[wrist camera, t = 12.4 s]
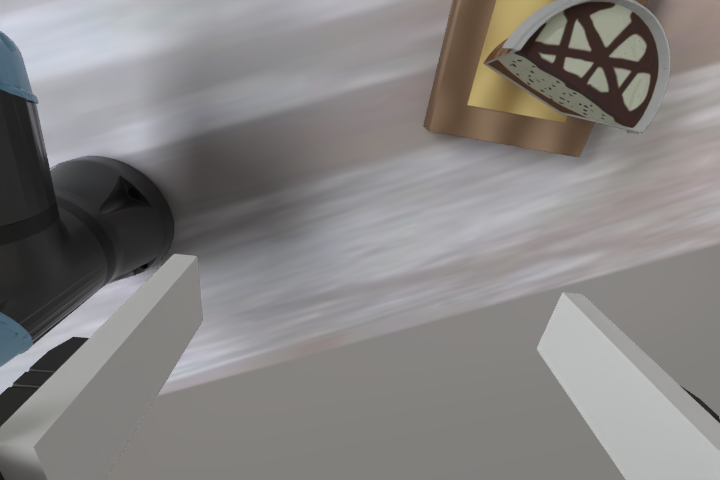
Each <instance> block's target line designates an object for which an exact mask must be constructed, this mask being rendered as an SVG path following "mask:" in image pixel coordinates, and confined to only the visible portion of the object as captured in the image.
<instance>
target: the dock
mask: <svg viewBox="0 0 720 480" xmlns="http://www.w3.org/2000/svg"><path fill="white" fill-rule="evenodd" d="M554 1H556V0H453V2H452V7H451V11H450V15H449V19H448V24H447V28H446V32H445V37H444V41H443V45H442V49H441V54H440V58H439V62H438V66H437V71H436V75H435V79H434V84H433V88H432V92H431V96H430V101H429V105H428V109H427V114H426V118H425V122H424V127H425V128H426V129H428V130H429V131H432V132H438V133H443V134H449V135H455V136H460V137H466V138H472V139H478V140H483V141H489V142H495V143H500V144H506V145H512V146H517V147H523V148H529V149H534V150H540V151H546V152H552V153H557V154H563V155H569V156H574V157H580V155H581V152H582V150H583V148H584V145H585V143H586V141H587V138H588V136H589V134H590V132H591V129H592V127H593V125H594V122H592V121H588V120H584V119H579V118H575V117H571V116H567V115H563V114H559V113H558V112H556V111H555V110H553V109H552V108H550V107H549V106H547V105H546V104H544V103H543V102H541V101H540V100H538V99H537V98H535V97H533V96H532V95H530V94H529V93H527V92H526V91H524V90H523V89H521V88H520V87H518V86H517V85H515V84H514V83H512V82H511V81H509V80H508V79H506V78H504V77H503V76H501V75H500V74H498V73H497V72H495V71H494V70H492V69H491V68H489V67H488V66H486V65H485V64H483V63H484V61H485V60H486V59H487V57H488V56H489V54H490V53H491V52H492V51H493V50H494V49H495V48H496V47H497V46H498V45H499V44H501V43H502V42H503V41H504V40H506V39H508V38H509V37H510V35H511V34H512V33H513V32H514V31H515V30H516V29H517V28H518V27H519V26H520V25H521V23H523V22H524V21H525V20H526V19H527V18H529V17H530V16H531V15H532V14H533V13H535V12H536V11H538V10H539V9H541V8H543V7H544V6H546V5H547V4H549V3H551V2H554ZM635 1H636V2H638V3H639V4H641V5H643V6H644V7H645V6H646V3H647V1H648V0H635Z"/></svg>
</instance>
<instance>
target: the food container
mask: <svg viewBox="0 0 720 480" xmlns="http://www.w3.org/2000/svg"><path fill="white" fill-rule="evenodd" d="M483 64H485V65H486V66H488V67H489V68H491V69H492V70H494V71H495V72H497V73H498V74H500V75H501V76H503V77H504V78H506V79H508V80H509V81H511V82H512V83H514V84H515V85H517V86H518V87H520V88H521V89H523V90H524V91H526V92H527V93H529V94H530V95H532V96H533V97H535V98H537V99H538V100H540V101H541V102H543V103H544V104H546V105H547V106H549V107H550V108H552V109H553V110H555V111H556V112H558V113H559V114H563V115H567V116H571V117H575V118H579V119H584V120H588V121H592V122H596V123H600V124H605V125H609V126H613V127H617V128H621V129H626V130H627V131H626V132H627V133H637V134H638V133H643V131H644V130H645V129H646V127H647V126H648V125H649V123H650V122H651V120H652V119H653V117H654V115H655V114H656V112H657V110H658V108H659V106H660V104H661V102H662V99H663V97H664V94H665V91H666V88H667V84H668V80H669V73H670V49H669V44H668V39H667V37H666V34H665V32H664V29H663V27H662V26H661V24H660V22H659V21H658V19H657V18H656V17H655V16H654V15H653V14H652V13H651V12H650V11H649V10H648V9H647V8H645V7H644V6H643V5H641V4H639V3H638V2H636V1H635V0H556V1H554V2H551V3H549V4H547V5H546V6H544V7H543V8H541V9H539V10H538V11H536V12H535V13H533V14H532V15H531V16H530V17H529V18H527V19H526V20H525V21H524V22H523V23H521V25H520V26H519V27H518V28H517V29H516V30H515V31H514V32H513V33H512V34H511V35H510V37H509V38H508V39H506V40H504V41H503V42H502V43H501V44H499V45H498V46H497V47H496V48H495V49H494V50H493V51H492V52H491V53H490V54H489V56H488V57H487V59H486V60H485V61H484V63H483Z"/></svg>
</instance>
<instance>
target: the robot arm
mask: <svg viewBox="0 0 720 480" xmlns="http://www.w3.org/2000/svg"><path fill="white" fill-rule="evenodd" d="M36 103H38V99H37V97H36V96H35V95H34V94H33V93H32V90H31V86H30V82H29V79H28V75H27V72H26V68H25V65H24V61H23V58H22V55H21V52H20V51H19V49H18V47H17V46H16V45H15V43H14V42H13V41H12V40H11V39H10V38H9V37H8V36H6V35H5V34H4V33H2V32H1V31H0V367H1V366H3V365H4V364H6V363H7V362H8V361H10V360H11V359H13V358H14V357H15V356H17V355H18V354H22V353H24V352H25V351H27V350H28V349H29V348H30V347H31V346H32V345H33V344H34V343H36V342H37V341H38V340H39V339H40V338H42V337H43V336H44V335H45V334H47V333H48V332H49V331H50V330H51V329H53V328H54V327H55V326H56V325H57V324H59V323H60V322H61V321H62V320H63V319H65V318H66V317H67V316H68V315H69V314H71V313H72V312H73V311H74V310H75V309H77V308H78V307H79V306H80V305H81V304H83V303H84V302H85V301H86V300H87V299H89V298H90V297H91V296H92V295H93V294H95V293H96V292H97V291H98V290H99V289H101V288H102V287H103V286H105V285H106V284H109V283H112V282H115V281H118V280H121V279H124V278H127V277H130V276H133V275H136V274H139V273H141V272H143V271H145V270H147V269H149V268H150V267H152V266H153V265H154V264H155V263H156V262H158V261H159V260H160V259H161V258H162V257H163V256H164V255H165V254H166V252H167V251H168V249H169V248H170V246H171V243H172V240H173V234H174V225H173V219H172V215H171V212H170V209H169V207H168V204H167V203H166V201H165V199H164V197H163V196H162V194H161V193H160V192H159V190H158V189H157V188H156V187H155V186H154V184H153V183H152V182H151V181H150V180H148V179H147V178H146V177H145V176H144V175H142V174H141V173H140V172H138V171H137V170H135V169H134V168H132V167H130V166H128V165H126V164H124V163H122V162H119V161H116V160H113V159H110V158H105V157H98V156H87V157H80V158H76V159H73V160H69V161H66V162H62V163H60V164H58V165H56V166H54V167H52V168H49V163H48V158H47V154H46V149H45V144H44V139H43V135H42V130H41V125H40V120H39V116H38V111H37V106H36ZM202 321H203V316H202V304H201V292H200V281H199V269H198V257H197V256H192V255H182V254H173V255H172V256H171V257H170V258H169V259H168V260H167V261H166V262H165V263H164V264H163V265H162V266H161V267H160V268H159V269H158V270H157V271H156V272H155V273H154V274H153V275H152V276H151V277H150V278H149V279H148V280H147V281H146V282H145V283H144V284H143V285H142V286H141V287H140V288H139V289H138V290H137V291H136V292H135V293H134V294H133V295H132V296H131V297H130V298H129V299H128V300H127V301H126V302H125V303H124V304H123V305H122V306H121V307H120V308H119V309H118V310H117V311H116V312H115V313H114V314H113V315H112V316H111V317H110V318H109V319H108V320H107V321H106V322H105V323H104V324H103V325H102V326H101V327H100V328H99V329H98V330H97V331H96V332H95V333H94V334H93V335H92V336H91V337H90V338H81V337H73V338H71V339H69V340H67V341H65V342H64V343H62V344H60V345H58V346H57V347H55V348H53V349H51V350H50V351H48V352H47V353H46V354H45V355H44V356H43V357H42V358H40V359H39V360H38V361H37V362H36V363H35V364H34V365H33V366H32V367H30V370H29V371H28V372H25V373H24V374H23V375H22V376H21V377H19V378H18V379H17V380H16V381H15V382H14V383H13V386H12V387H8V388H7V389H6V390H5V391H4V392H3V393H2V394H1V395H0V480H106V479H107V477H108V476H109V474H110V472H111V471H112V469H113V467H114V466H115V464H116V462H117V461H118V459H119V457H120V456H121V454H122V453H123V451H124V449H125V448H126V446H127V444H128V443H129V441H130V439H131V438H132V436H133V434H134V433H135V431H136V430H137V428H138V426H139V425H140V423H141V421H142V420H143V418H144V416H145V415H146V413H147V412H148V410H149V408H150V407H151V405H152V403H153V402H154V400H155V398H156V397H157V395H158V393H159V392H160V390H161V389H162V387H163V385H164V384H165V382H166V380H167V379H168V377H169V375H170V374H171V372H172V370H173V369H174V367H175V366H176V364H177V362H178V361H179V359H180V357H181V356H182V354H183V352H184V351H185V349H186V347H187V346H188V344H189V343H190V341H191V339H192V338H193V336H194V334H195V333H196V331H197V329H198V328H199V326H200V324H201V323H202ZM537 350H538V352H539V353H540V355H541V356H542V358H543V359H544V361H545V362H546V363H547V365H548V366H549V368H550V369H551V371H552V372H553V374H554V375H555V377H556V378H557V380H558V381H559V382H560V384H561V385H562V387H563V388H564V390H565V391H566V393H567V394H568V396H569V397H570V399H571V400H572V402H573V403H574V404H575V406H576V407H577V409H578V410H579V411H580V413H581V415H582V416H583V418H584V419H585V421H586V422H587V423H588V425H589V426H590V428H591V429H592V431H593V432H594V434H595V435H596V437H597V438H598V440H599V441H600V443H601V444H602V445H603V447H604V448H605V450H606V451H607V453H608V454H609V456H610V457H611V458H612V460H613V461H614V463H615V464H616V466H617V467H618V469H619V470H620V472H621V473H622V475H623V476H624V478H625V479H626V480H720V419H719V416H718V415H717V414H716V413H714V412H713V411H712V410H711V409H710V408H709V407H708V406H707V405H706V404H705V403H703V401H701V400H700V399H699V398H698V397H696V396H695V395H693V394H692V393H690V392H689V391H687V390H686V389H684V388H683V387H681V386H680V385H679V384H677V383H676V382H675V381H674V380H673V379H672V378H671V377H670V376H669V375H668V374H667V373H666V372H665V371H663V370H662V369H661V368H660V367H659V366H658V365H657V364H656V363H655V362H654V361H653V360H651V358H650V357H648V356H647V355H646V354H645V353H644V352H643V351H642V350H641V349H640V348H639V347H638V346H637V345H636V344H635V343H634V342H633V341H631V340H630V339H629V338H628V337H627V336H626V335H625V334H624V333H623V332H622V331H621V330H620V329H619V328H618V327H617V326H616V325H614V324H613V323H612V322H611V321H610V320H609V319H608V318H607V317H606V316H605V315H604V314H603V313H602V312H600V310H598V309H597V308H596V307H595V306H594V305H593V304H592V303H591V302H590V301H589V300H588V299H587V298H586V297H585V296H584V295H582V294H576V293H566V292H565V293H564V292H562V295H561V297H560V299H559V301H558V303H557V305H556V308H555V310H554V312H553V314H552V316H551V319H550V321H549V323H548V325H547V327H546V330H545V332H544V334H543V336H542V338H541V340H540V343H539V345H538V347H537Z"/></svg>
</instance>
